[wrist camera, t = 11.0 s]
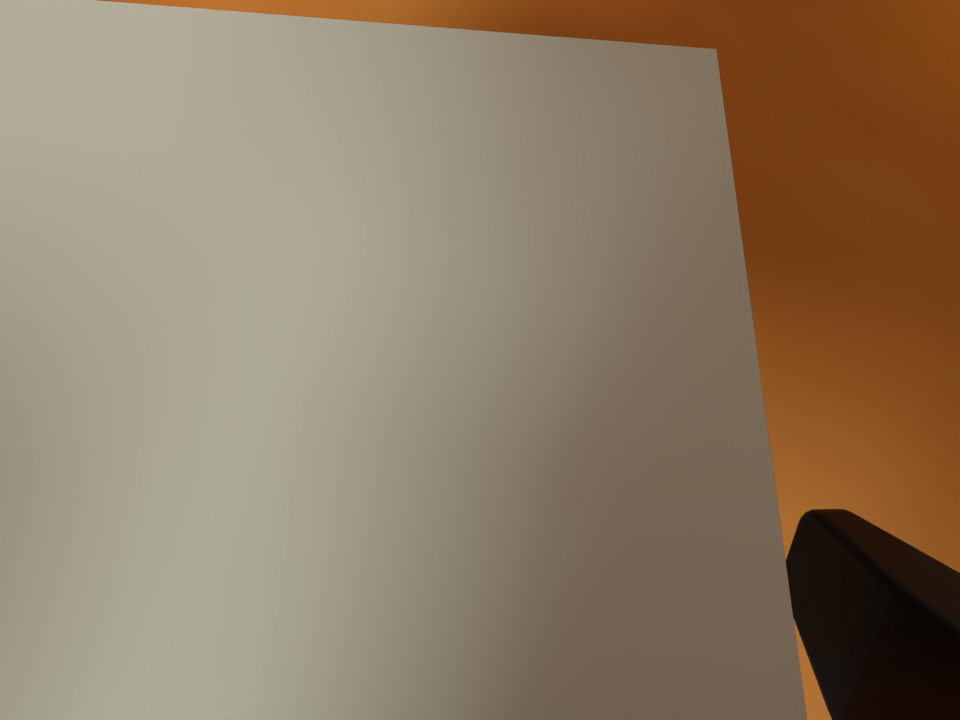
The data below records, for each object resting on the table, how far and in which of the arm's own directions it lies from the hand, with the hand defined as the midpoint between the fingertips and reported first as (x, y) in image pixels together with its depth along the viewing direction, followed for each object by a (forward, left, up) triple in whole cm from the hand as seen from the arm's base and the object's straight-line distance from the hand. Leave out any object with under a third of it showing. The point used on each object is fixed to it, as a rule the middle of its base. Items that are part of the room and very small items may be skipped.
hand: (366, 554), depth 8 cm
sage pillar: (+1, 0, -9) cm, 9 cm away
